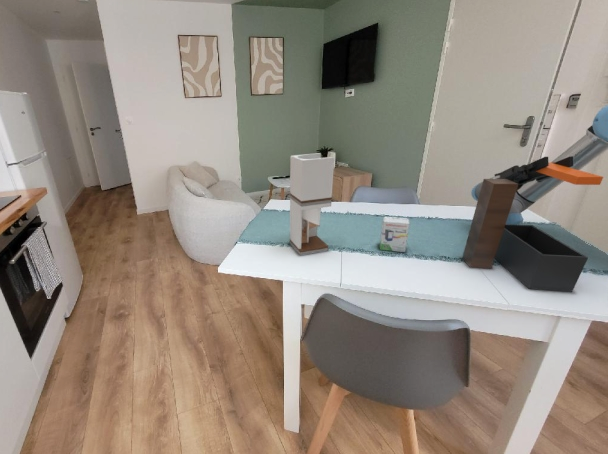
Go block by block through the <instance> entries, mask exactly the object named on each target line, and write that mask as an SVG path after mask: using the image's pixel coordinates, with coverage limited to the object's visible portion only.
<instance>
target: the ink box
mask: <svg viewBox="0 0 608 454" xmlns="http://www.w3.org/2000/svg"><path fill="white" fill-rule="evenodd" d="M381 224H382V225H381V231H380V238H379V250H381V251H388V252H390V251H391V252H398V253H406V250H407V249H406V248H407V244H408V236H409V231H410V226H411V222H410V219H409V218H407V217H395V216H383V218H382V223H381Z"/></svg>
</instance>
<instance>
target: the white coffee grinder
mask: <svg viewBox="0 0 608 454" xmlns="http://www.w3.org/2000/svg"><path fill="white" fill-rule="evenodd" d="M289 163H290V164H289V165H290V166H289V167H290V168H289V171H290V172H289V173H290V174H289V244H290V246H291V247H292V248H293V249H294V250H295V252H297V254H298V255H299V256H304V255H305V256H306V255H311V254H316V253H317V254H318V253H323V252H328V251H329V245H328V244H327V243H326V242H325V241H324V240H322V239H321V238H320V237H319V236H318V227H321V218H322V208H323V209H324V208H330V207H332V199H333V185H334V170H335V169H334V168H335V156H330V157H322V153H321V152H317V153H306V154H293V155H290V162H289Z"/></svg>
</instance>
